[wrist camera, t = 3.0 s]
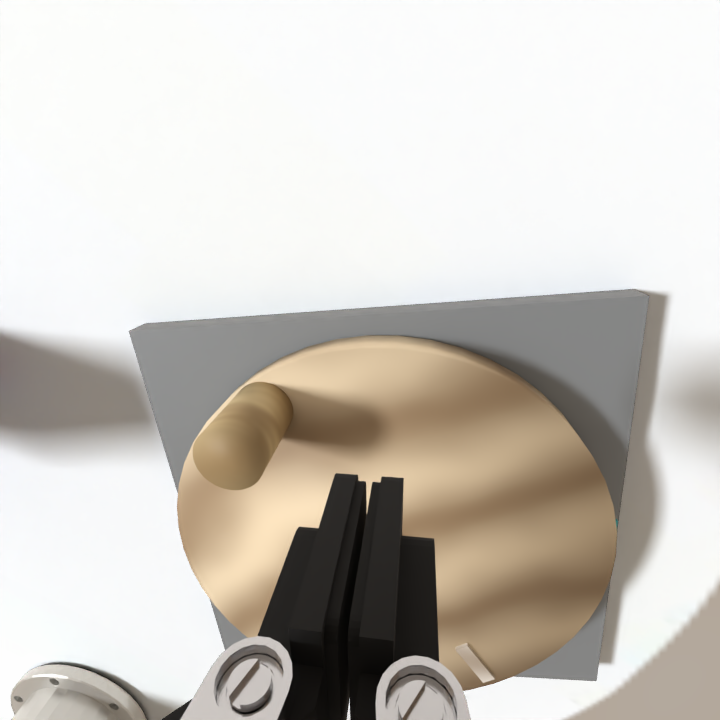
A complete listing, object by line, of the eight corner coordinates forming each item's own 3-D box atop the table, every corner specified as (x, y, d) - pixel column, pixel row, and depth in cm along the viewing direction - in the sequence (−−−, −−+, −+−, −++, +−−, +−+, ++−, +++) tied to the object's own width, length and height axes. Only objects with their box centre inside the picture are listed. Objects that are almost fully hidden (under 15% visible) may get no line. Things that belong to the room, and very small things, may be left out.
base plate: (587, 658, 30) (597, 683, 28) (236, 640, 33) (227, 662, 32) (633, 289, 21) (651, 296, 19) (145, 323, 24) (127, 332, 23)
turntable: (674, 588, 24) (757, 713, 19) (344, 700, 32) (328, 815, 26) (453, 236, 19) (471, 254, 13) (117, 467, 26) (30, 546, 20)
